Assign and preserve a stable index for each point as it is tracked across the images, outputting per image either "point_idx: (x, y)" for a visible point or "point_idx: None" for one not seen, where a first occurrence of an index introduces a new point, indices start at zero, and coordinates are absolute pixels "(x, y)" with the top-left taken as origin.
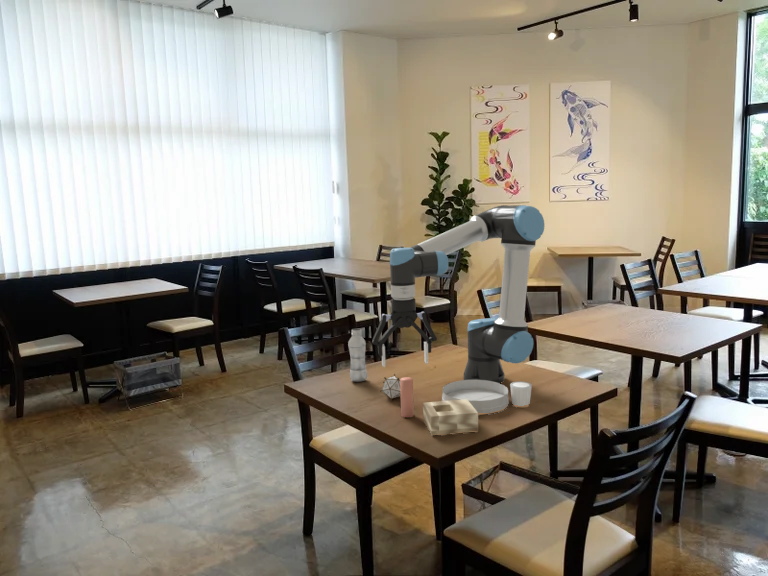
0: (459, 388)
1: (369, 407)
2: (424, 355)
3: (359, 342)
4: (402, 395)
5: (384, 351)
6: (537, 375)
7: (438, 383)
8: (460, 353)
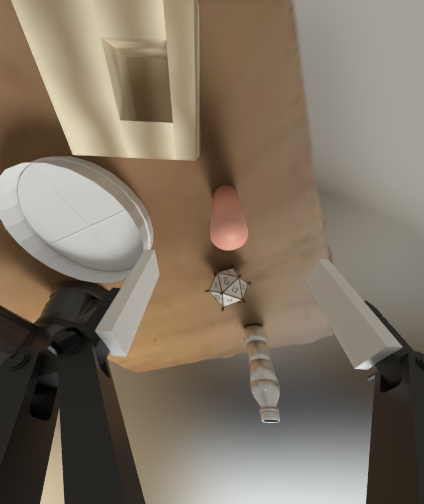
0: (119, 273)
1: (276, 249)
2: (150, 290)
3: (265, 390)
4: (240, 207)
5: (365, 315)
6: (12, 297)
7: (153, 303)
8: (124, 359)
